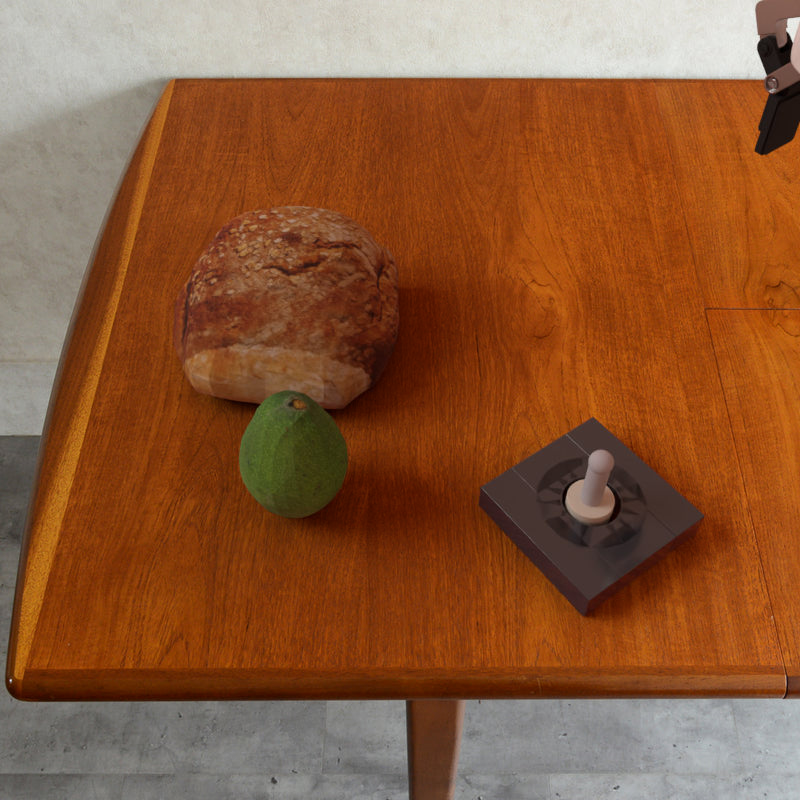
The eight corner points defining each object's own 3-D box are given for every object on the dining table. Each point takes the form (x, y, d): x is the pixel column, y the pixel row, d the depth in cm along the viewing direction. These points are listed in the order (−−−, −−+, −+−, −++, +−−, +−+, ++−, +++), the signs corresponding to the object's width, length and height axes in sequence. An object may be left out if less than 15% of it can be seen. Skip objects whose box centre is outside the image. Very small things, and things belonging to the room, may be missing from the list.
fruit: (293, 441, 75) (279, 340, 66) (369, 486, 72) (365, 387, 63) (228, 506, 71) (202, 408, 61) (305, 557, 68) (291, 462, 58)
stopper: (585, 493, 71) (603, 427, 65) (617, 524, 69) (639, 459, 63) (551, 515, 70) (567, 450, 64) (583, 547, 68) (602, 483, 62)
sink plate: (588, 435, 75) (593, 416, 73) (697, 533, 69) (705, 515, 67) (477, 505, 71) (480, 486, 69) (583, 617, 64) (589, 600, 62)
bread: (404, 283, 88) (404, 199, 80) (391, 427, 76) (390, 344, 68) (198, 274, 89) (179, 190, 81) (153, 415, 77) (126, 332, 69)
